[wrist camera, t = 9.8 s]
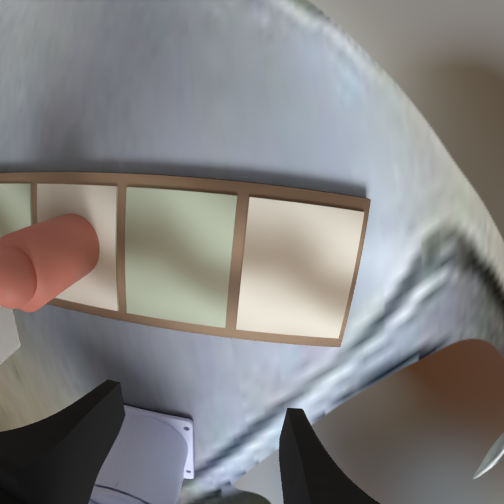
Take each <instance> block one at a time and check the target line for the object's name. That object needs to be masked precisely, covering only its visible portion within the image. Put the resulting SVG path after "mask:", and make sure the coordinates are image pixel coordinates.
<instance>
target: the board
mask: <svg viewBox="0 0 504 504" xmlns="http://www.w3.org/2000/svg"><path fill="white" fill-rule="evenodd" d="M370 201H371V199H368V198H363V197H356V196H350V195H344V194H337V193H331V192H324V191H317V190H309V189H302V188H294V187H286V186H278V185H270V184H261V183H252V182H242V181H232V180H222V179H210V178H198V177H185V176H170V175H154V174H134V173H108V172H9V173H0V238H1V237H3V236H4V235H6V234H8V233H11V232H14V231H17V230H20V229H22V228H25V227H28V226H31V225H34V224H37V223H40V222H43V221H46V220H49V219H52V218H55V217H58V216H61V215H65V214H71V213H72V214H77V215H80V216H82V217H83V218H85V219H86V220H87V221H88V222H89V223H90V224H91V225H92V227H93V228H94V230H95V232H96V234H97V237H98V241H99V247H100V253H99V259H98V262H97V265H96V266H95V268H94V269H93V270H92V271H91V272H90V273H89V274H87V275H86V276H84V277H83V278H81V279H80V280H78V281H77V282H76V283H74V284H73V285H71V286H70V287H69V288H67V289H66V290H64V291H63V292H62V293H60V294H59V295H57V296H56V297H55V298H53V299H52V300H50V301H49V302H48V303H46V304H50V305H54V306H58V307H62V308H66V309H71V310H75V311H79V312H84V313H88V314H93V315H97V316H102V317H107V318H112V319H117V320H122V321H127V322H132V323H137V324H143V325H149V326H154V327H160V328H166V329H172V330H179V331H185V332H192V333H199V334H206V335H213V336H221V337H229V338H237V339H246V340H255V341H264V342H275V343H286V344H298V345H311V346H327V347H340V346H341V342H342V338H343V335H344V331H345V327H346V323H347V319H348V315H349V310H350V306H351V302H352V297H353V293H354V289H355V284H356V279H357V274H358V270H359V265H360V260H361V254H362V249H363V244H364V238H365V232H366V227H367V221H368V214H369V208H370Z"/></svg>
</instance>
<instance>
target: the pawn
mask: <svg viewBox="0 0 504 504" xmlns="http://www.w3.org/2000/svg"><path fill="white" fill-rule="evenodd" d="M99 253H100V247H99V241H98V237H97V234H96V232H95V230H94V228H93V227H92V225H91V224H90V223H89V222H88V221H87V220H86V219H85V218H83V217H82V216H80V215H77V214H72V213H71V214H65V215H61V216H58V217H55V218H52V219H49V220H46V221H43V222H40V223H37V224H34V225H31V226H28V227H25V228H22V229H20V230H17V231H14V232H11V233H8V234H6V235H4V236H3V237H1V238H0V306H2V307H5V308H9V309H16V308H18V309H20V310H22V311H25V312H34V311H37V310H38V309H40V308H41V307H42V306H44V305H45V304H46V303H48V302H49V301H50V300H52V299H53V298H55V297H56V296H57V295H59V294H60V293H62V292H63V291H64V290H66V289H67V288H69V287H70V286H71V285H73V284H74V283H76V282H77V281H78V280H80V279H81V278H83V277H84V276H86V275H87V274H89V273H90V272H91V271H92V270H93V269H94V268H95V266H96V265H97V262H98V259H99Z"/></svg>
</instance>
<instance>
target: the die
mask: <svg viewBox="0 0 504 504" xmlns="http://www.w3.org/2000/svg"><path fill="white" fill-rule="evenodd" d="M20 347H21V344H20V340H19V336H18V332H17V327H16V323H15V318H14V313H13V309H9V308H5V307H2V306H0V364H1V363H3V362H4V361H5V360H6V359H7V358H8V357H9V356H10V355H12V354H13V353H14V352H15V351H16V350H17V349H18V348H20Z"/></svg>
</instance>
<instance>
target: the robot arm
mask: <svg viewBox="0 0 504 504" xmlns="http://www.w3.org/2000/svg"><path fill="white" fill-rule="evenodd" d="M187 427H188V428H187ZM279 462H280V472H281V481H282V490H283V499H284V504H380V503H378V502H377V501H375V500H374V499H373V498H371V497H370V496H368V495H367V494H366V493H365V492H364V491H362V490H361V489H360V488H359V487H358V486H357V485H355V484H354V483H353V482H352V481H351V480H350V479H349V478H348V477H347V476H346V475H345V474H344V473H343V472H342V470H341V469H340V468H339V467H338V466H337V465H336V463H335V462H334V461H333V459H332V458H331V457H330V455H329V454H328V453H327V451H326V450H325V448H324V447H323V445H322V444H321V442H320V441H319V439H318V437H317V436H316V434H315V432H314V430H313V429H312V427H311V425H310V423H309V421H308V419H307V417H306V415H305V413H304V411H303V410H302V409H297V408H287V412H286V416H285V420H284V424H283V427H282V431H281V435H280V441H279ZM183 478H188V479H193V478H194V446H193V421H192V420H190V419H188V418H182V417H177V416H171V415H166V414H161V413H157V412H152V411H147V410H143V409H139V408H135V407H131V406H127V405H124V404H123V398H122V392H121V386H120V383H119V382H115V381H112V380H106V381H105V382H103V383H102V384H101V385H99V386H98V387H96V388H95V389H94V390H92V391H91V392H89V393H88V394H86V395H85V396H84V397H82V398H81V399H79V400H78V401H76V402H75V403H73V404H71V405H70V406H68V407H66V408H65V409H63V410H61V411H60V412H58V413H56V414H54V415H52V416H50V417H48V418H45V419H43V420H41V421H38V422H36V423H33V424H30V425H27V426H24V427H21V428H17V429H13V430H8V431H3V432H0V504H177V503H178V499H179V495H180V490H181V486H182V482H183Z"/></svg>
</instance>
